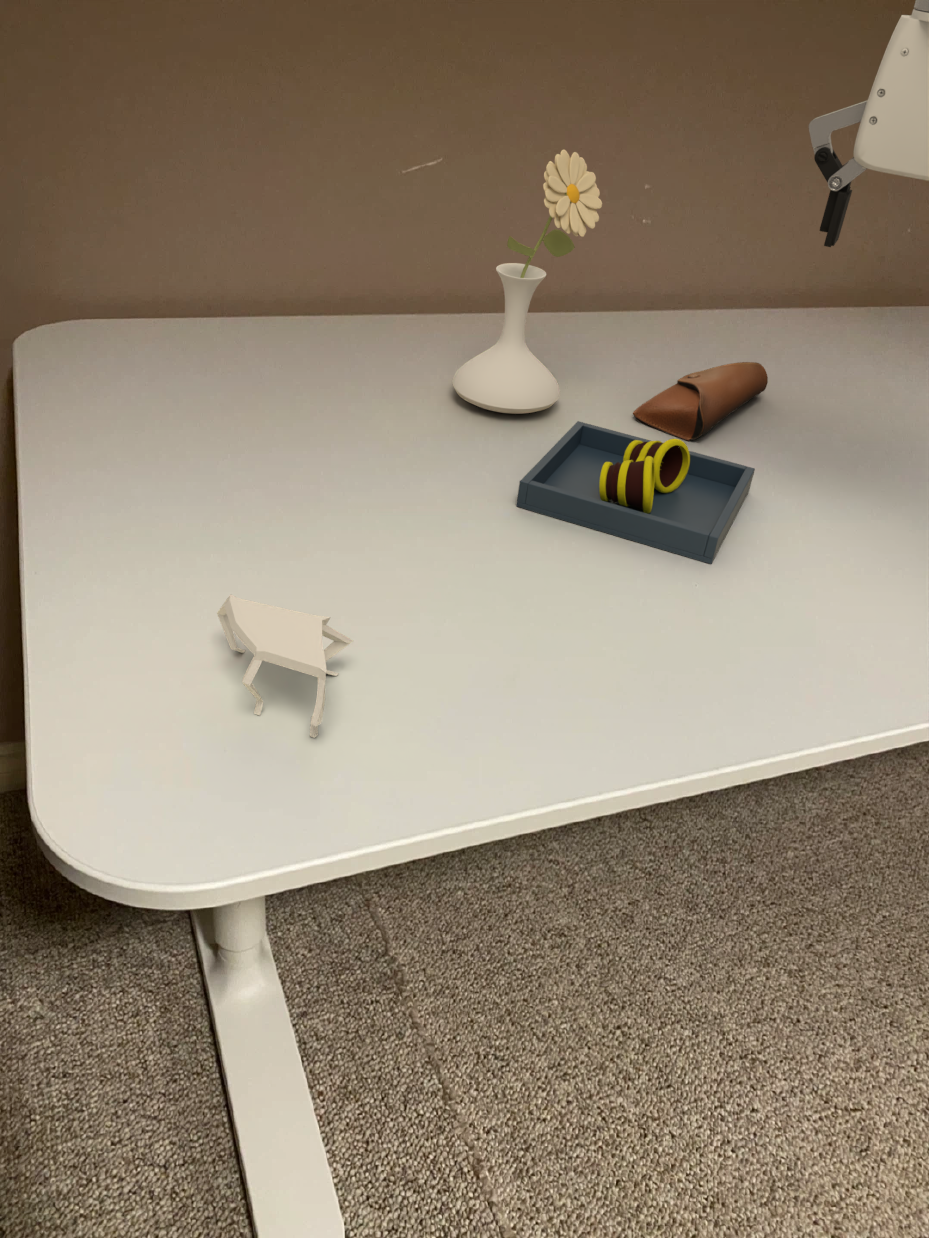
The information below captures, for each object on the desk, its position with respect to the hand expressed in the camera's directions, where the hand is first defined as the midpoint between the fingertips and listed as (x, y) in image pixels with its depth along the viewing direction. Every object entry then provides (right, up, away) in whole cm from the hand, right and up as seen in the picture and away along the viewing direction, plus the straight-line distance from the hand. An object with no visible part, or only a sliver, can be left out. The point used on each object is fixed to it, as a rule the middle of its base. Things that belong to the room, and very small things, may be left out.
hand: (893, 256), depth 83 cm
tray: (-17, -17, +15) cm, 29 cm away
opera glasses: (-17, -17, +15) cm, 28 cm away
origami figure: (-45, -32, -12) cm, 57 cm away
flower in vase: (-28, -5, +32) cm, 43 cm away
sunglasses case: (-7, -5, +35) cm, 36 cm away
